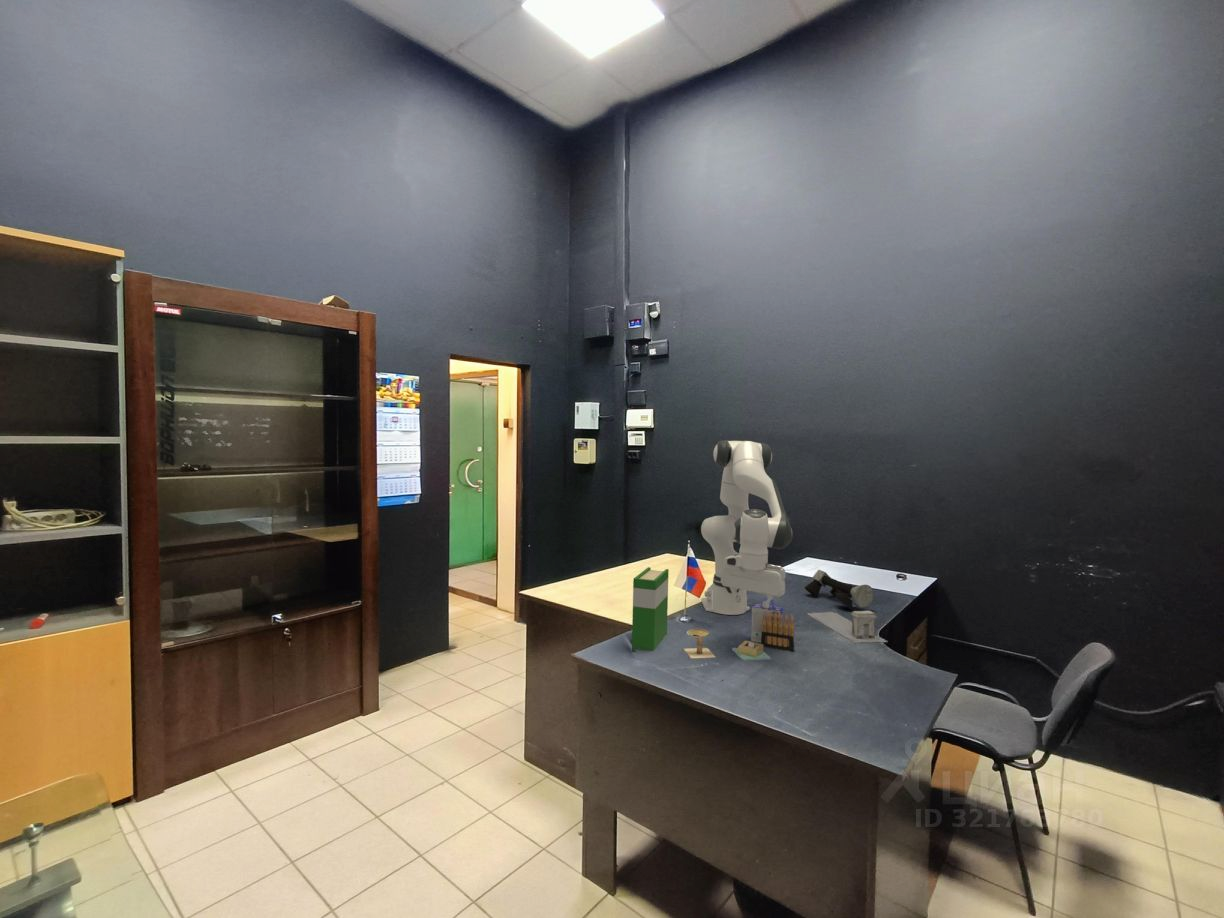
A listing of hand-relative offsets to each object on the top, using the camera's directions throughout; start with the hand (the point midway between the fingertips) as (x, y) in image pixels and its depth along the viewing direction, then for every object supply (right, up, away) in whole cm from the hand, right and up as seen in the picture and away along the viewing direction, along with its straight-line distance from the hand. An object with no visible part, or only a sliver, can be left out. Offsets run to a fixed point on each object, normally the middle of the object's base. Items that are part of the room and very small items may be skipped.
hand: (751, 604), depth 176 cm
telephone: (+55, -17, +65) cm, 87 cm away
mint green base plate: (0, -17, 0) cm, 17 cm away
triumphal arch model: (+43, -18, +34) cm, 58 cm away
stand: (-16, -17, +1) cm, 24 cm away
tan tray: (0, -15, 0) cm, 15 cm away
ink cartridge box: (+9, -17, +16) cm, 25 cm away
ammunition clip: (+11, -18, +10) cm, 23 cm away
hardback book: (-31, -17, +11) cm, 37 cm away
